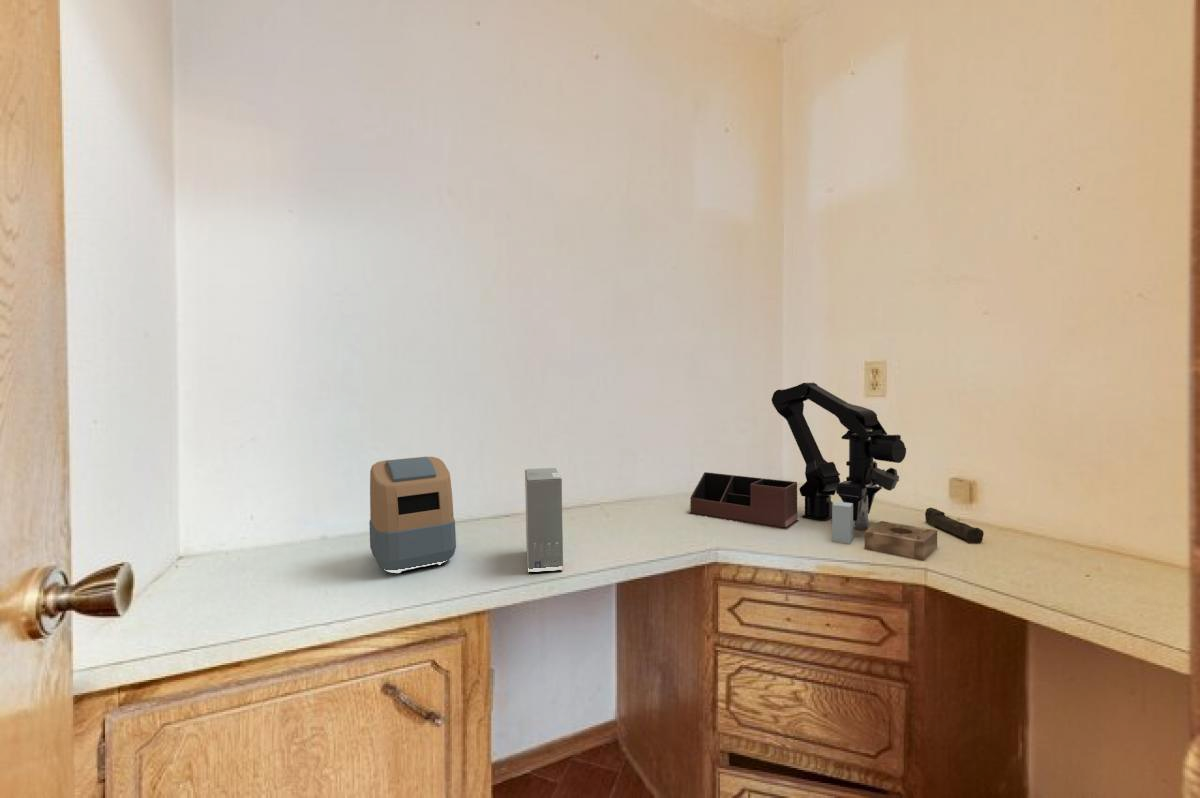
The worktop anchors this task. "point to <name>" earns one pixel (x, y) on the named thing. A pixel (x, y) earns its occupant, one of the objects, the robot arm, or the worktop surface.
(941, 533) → the worktop surface
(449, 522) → the alarm clock
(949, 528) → the hand tool
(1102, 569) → the worktop surface
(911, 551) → the bore block
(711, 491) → the desk organizer
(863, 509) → the cylinder
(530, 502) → the hard drive box
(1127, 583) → the worktop surface
